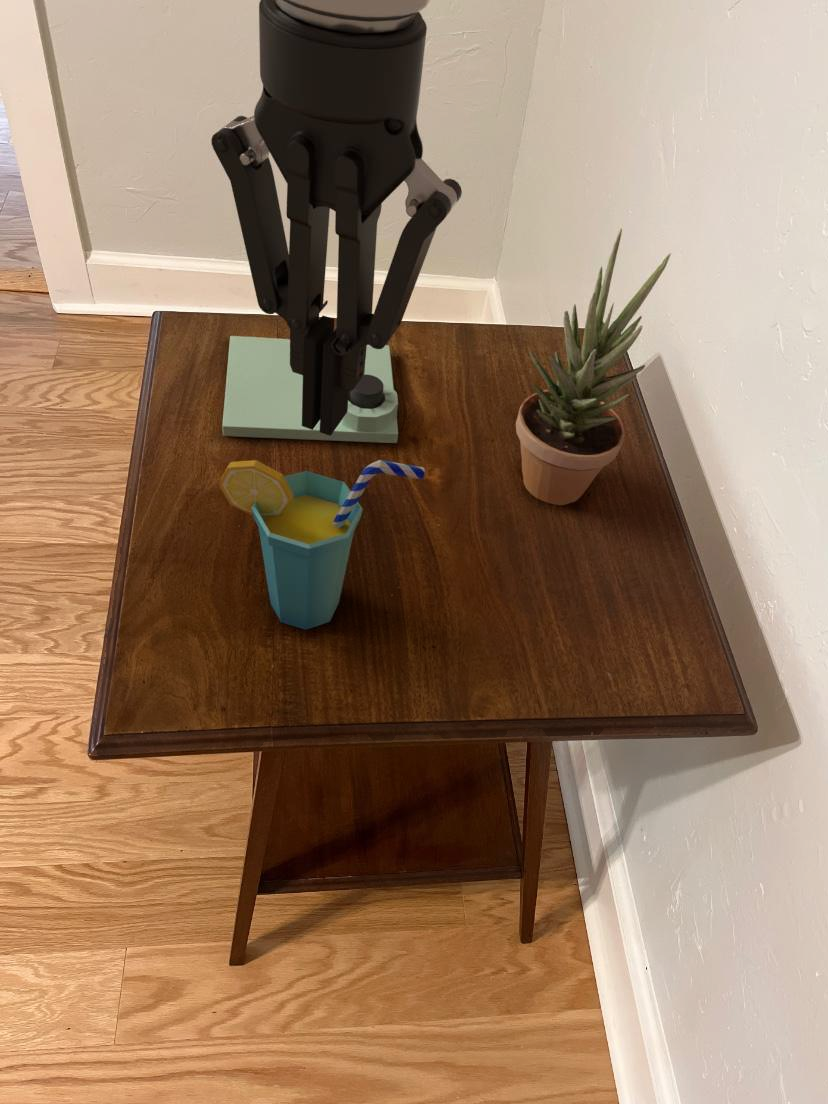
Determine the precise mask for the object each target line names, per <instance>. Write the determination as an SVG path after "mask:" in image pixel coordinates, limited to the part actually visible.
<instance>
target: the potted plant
mask: <svg viewBox="0 0 828 1104" xmlns="http://www.w3.org/2000/svg"><path fill="white" fill-rule="evenodd" d="M622 232H623V228H622V227H621V228H620V229H619V231H618V233H617V235H616V238H615V241H614V244H613V246H612V250H611V253H610V255H609V258H608V262H607V265H606V269H605V273H604V277H603V266H602V265H601V266H600V268H599V271H598V274H597V279H596V282H595V286H594V292H593V294H592V296H591V299H590V301H589V305H588V309H587V314H586V319H585V325H584V331H583V336H582V337H583V338H582V345H581V338H580V329H579V320H578V313H577V305H576V303H574V304H573V307H572V312H571V313H572V314H571V318H570V315H569V311H568V310H565V311H564V314H563V332H564V343H565V349H566V350H565V351H566V352H565V353H566V359H567V365H568V369H566V367H565V366H564V364H563V361H562V359H561V357H560V355H559V353H558V351H555V355H553V354H550V355H549V358H548V359H549V362H550V366H551V370H552V372H553V374H554V376H555V379H556V382H555V381H554V380H553V378H552V377H551V375H550V374H549V373H548V372H547V371H546V370H545V368H544V367H543V366H542V364H541V362H539V360H538V359H537V358H536V356H535V354H534V353H533V351H532V350H530V349H528V353H529V356H530V359H531V360H532V362H533V364H534V366H535V367H536V369H537V371H538V372H539V374H540V376H541V377H542V379H543V381H544V382H545V383H546V385H547V386H546V387H547V388H546V389H544V390H543V389H541V388H540V387H539V386H538V385H537V384H535V383H534V382H532V383H531V386H532V389H533V390H534V391H535V393H532V394H531V395H529V396H528V397H526V398H525V399H524V400H523V402H522V403H521V405H520V407H519V410H518V414H517V418H516V421H515V431H516V435H517V437H518V440H519V441H520V454H521V455H520V456H521V473H522V478H523V484H524V488H525V489H526V490H527V492H528V493H530V494H531V496H533V497H534V498H536V499H537V500H538V501H539V500H540V501H542V502H544V503H546V504H551V505H554V506H565V505H569V504H572V503H575V502H577V501H578V500H579V499H580V498H581V497H582V496H583V495H584V493H585V492H586V490H587V489H588V488H589V487H590V485H591V484H592V483H593V482H594V480H595V478H597V476H598V475H599V473H600V472H601V470H602V469H603V468H604V467H605V466H608V465H609V464H611V463H612V462H613V461H614V460H615V458H616V457H617V456H618V454H619V452H620V450H621V448H622V446H623V443H624V439H625V427H624V424H623V422H622V420H621V418H620V416H619V414H618V413H616V412H615V411H614V409H612V408H615V407H616V406H618V405H619V404H621V403H622V402H623V401H625V400H626V399H627V398H628V397H629V396H630V393H627V394H625V395H622V396H620V397H618V398H616V399H613V400H610V401H608V402H604V401H605V400H607V399H609V398H610V397H611V396H613V395H614V394H616V393H618V392H619V391H621V390H622V389H623V388H625V387H626V386H628V385H629V384H630V383H632V382H633V381H635V380H636V379H637V377H638V374H639V373H641V372H642V371H643V370H644V369H645V367H646V364H643V365H641V366H639V367H637V368H633V369H631V370H627V371H625V372H621V373H619V374H615V375H610V376H606V375H607V373H608V372H609V371H610V370H611V369H612V368H613V367H614V366H615V365H616V364H617V363H618V362H619V361H620V360H621V358H623V356H624V355H625V354H626V353H627V352H628V351H629V349H630V348H631V347H632V346H633V344H634V343H635V342H636V340H637V339H638V337H639V336H640V334H641V332H642V329H643V328H644V326H643V325H639V323H640V321H642V316H643V315H640V316H639V317H638V318H637V319H636V320H635V321H634V322H632V323H631V324H630V325H629V326H628V324H629V323H630V322H631V320H632V318H634V316H635V315H636V313H637V312H638V310H639V309H640V308H641V306H643V305H642V304H643V303H644V302H645V300H646V299H647V298H648V296H649V294H650V292H651V291H652V290H653V288H654V286H655V285H656V283H657V282H658V280H659V279H660V277H661V275H662V274H663V272H664V270H665V269H666V267H667V264H668V263H669V260H670V257H671V255H672V252H670V253H668V254H667V256H666V257H665V258H664V259H663V260H662V262H661V264H659V266H657V267H656V269H655V270H654V271H653V272H652V273H651V275H650V276H649V277H648V279H646V281H645V282H644V283H643V284H642V286H641V287H640V288H639V289H638V290H637V292H636V293H635V295H634V296H633V297H632V298H631V299H630V301H628V303H627V304H626V306H625V307H624V308H623V310H622V311H621V312H620V313H619V315H618V316H617V318H616V319H615V320H614V321H612V322H611V318H612V313H613V310H614V305H615V302H613V303H612V304H611V307H610V309H609V312H608V314H607V317H606V318H605V317H604V316H605V312H606V307H607V302H608V297H609V293H610V287H611V284H612V283H611V282H612V278H613V272H614V269H615V265H616V260H617V255H618V251H619V247H620V242H621V238H622V234H623V233H622ZM604 318H605V322H604ZM570 319H571V320H570ZM610 322H611V324H610ZM609 325H610V326H609ZM627 326H628V327H627ZM638 326H639V327H638ZM637 327H638V328H637Z"/></svg>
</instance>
